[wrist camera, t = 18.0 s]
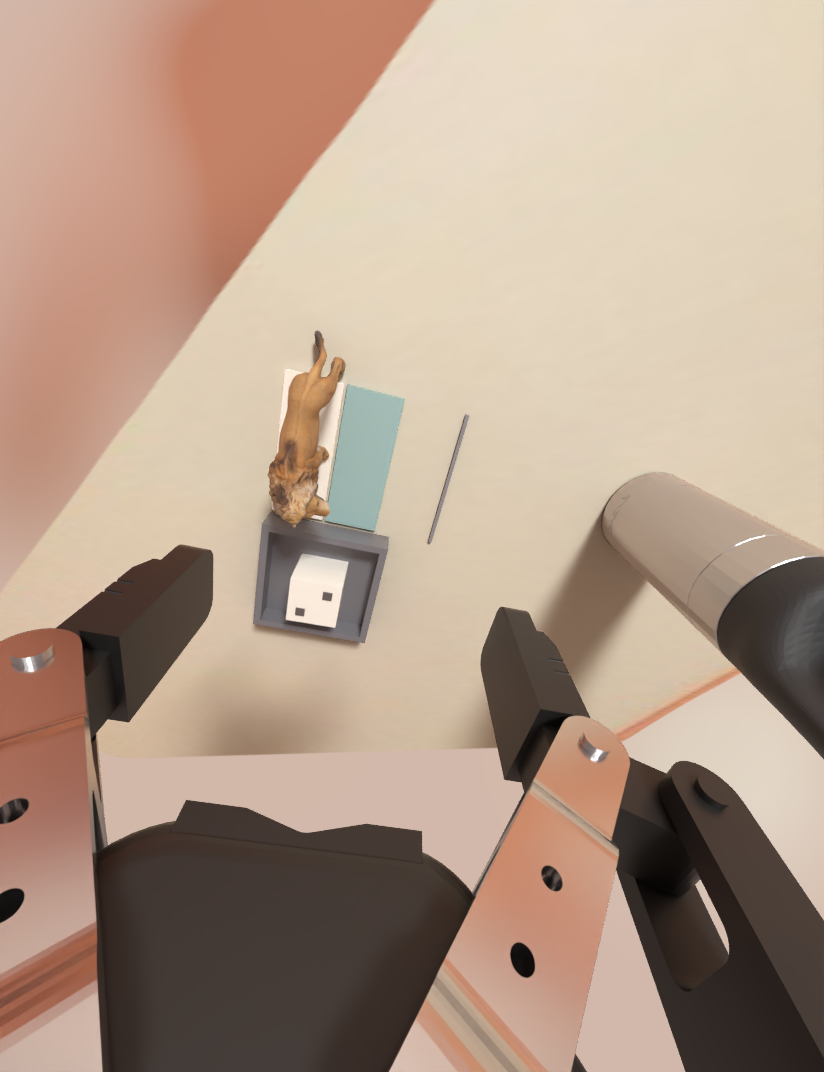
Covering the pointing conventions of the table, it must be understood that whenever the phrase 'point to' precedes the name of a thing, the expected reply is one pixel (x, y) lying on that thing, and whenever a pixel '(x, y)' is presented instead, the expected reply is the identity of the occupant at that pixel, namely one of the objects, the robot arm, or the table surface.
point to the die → (316, 590)
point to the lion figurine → (303, 443)
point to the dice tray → (322, 540)
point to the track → (358, 452)
